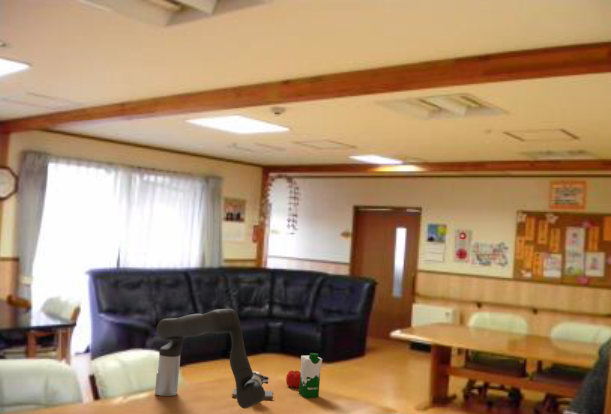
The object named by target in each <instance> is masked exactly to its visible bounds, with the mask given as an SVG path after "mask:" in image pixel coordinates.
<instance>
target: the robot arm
mask: <svg viewBox="0 0 611 414" xmlns="http://www.w3.org/2000/svg"><path fill="white" fill-rule="evenodd" d="M205 333H206V334H207V333H210V334H225V333H229V335H230V338H231V343H232V344H231V350H230V355H229V366H230V368H231V371H232V374H233V377H234V382H235V387H236V388H235V389H236V393H237V398H236V400H237V401H236V402H237V404H238V406H239V407H240V408H241V409H243V410H244V409H245V410H246V409H249V408H251V407H253V406H255V405H257V404H259V403H262V402H263V401H265V400H264V399H265V391H266V390H265V389H264V387H263V384H269V376H266V375H263V374H261V373H259V375H258V374H257V373H256V372H257V371H256V372H252V371H253V370H252V367H251V363H250V361H249V359H248V356H247V351H246V348H245V343H244V342H245V341H244V338H243V331H242V326H241V322H240V318H239V314H238V312H237V311H236V310H235V309H233V308H220V309H219V308H218V309H214V310H211V311H209V312H206V313H203V314H202V313H193V314H188V315H183V316H181V317H180V316H179V317H174V318H172V317H171V318H170V317H169V318H163V319H161V320H160V321H159V322H158V324H157V326H156V334H157V335H158V337H159V338H160V339H161V340H166V341H168V340H169V342H168V343H166V344H164V345H162V346H160V348H159V354H158V367H157V372H156V377H155V387H154V388H155V389H154V395H157V396H161V397H174V396H176V395H177V394H178V389H179V388H178V387H179V377H180V376H179V374H180V365H181V353H182V349H183V343H184V337H185V338H187V337H188V338H191V337H192V338H193V337H200V336H202V335H204V334H205Z"/></svg>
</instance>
